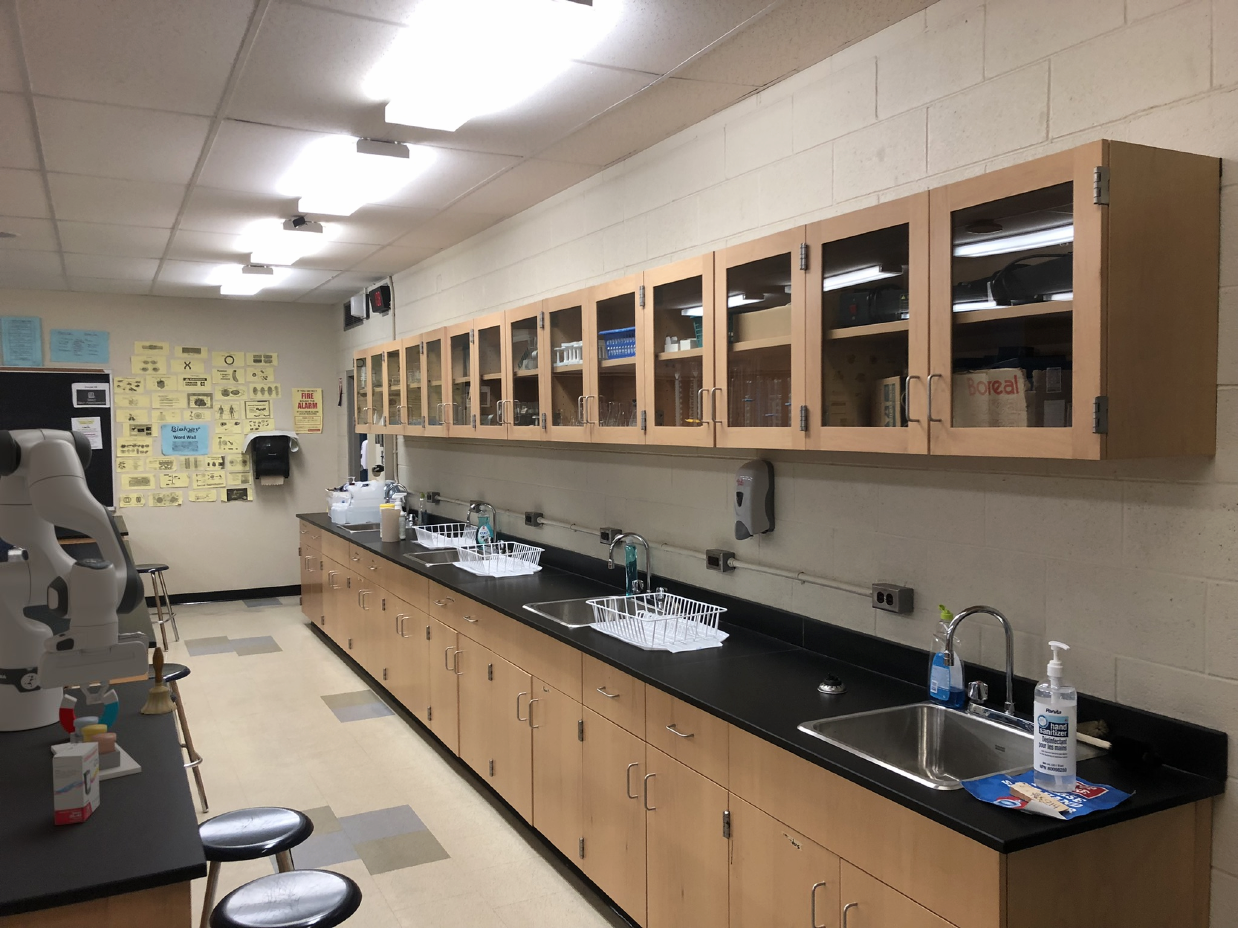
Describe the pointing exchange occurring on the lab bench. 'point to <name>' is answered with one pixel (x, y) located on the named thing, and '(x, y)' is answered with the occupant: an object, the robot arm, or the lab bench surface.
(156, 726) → the lab bench surface
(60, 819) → the ink box
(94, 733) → the ochre button
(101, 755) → the console
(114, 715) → the magnet
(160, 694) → the hand bell
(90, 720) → the slate button
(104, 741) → the terracotta button
